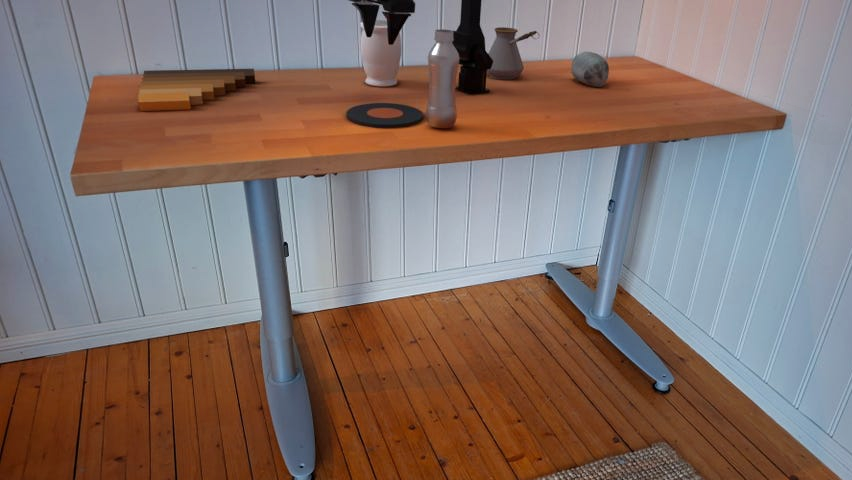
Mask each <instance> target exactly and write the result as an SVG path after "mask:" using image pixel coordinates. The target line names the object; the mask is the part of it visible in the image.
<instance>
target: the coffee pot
mask: <svg viewBox="0 0 852 480" xmlns="http://www.w3.org/2000/svg"><path fill="white" fill-rule="evenodd" d="M494 32H495V35H496V37H495V39H494V41H493V43H492V45H491V47H490V50H489V51H488V52H487V53H488V54H489V56H490V57H491V58H492V60H493V64H492V67H491V69H488V70H487V75H488V76H489V77H490V78H492V79H496V80H515V79H517V77H518V76H520V75H521V73H522V72H523V70H524V63H523V60H522V57H521V54H520V51H519V47H518V44H517V43H518V42H520V41H524V40H527V39H529V38H530V37H531V38H532V39H534V40H538V39H539V38H540V33H539V32H538V31H536V30H533V31H529V32H528V33H525V34H523V35H521V36H519V37H517V38H516V35H517V33H518V32H519V30H518V29H517V28H512V27H505V26H504V27H503V26H501V27H499V26H498V27H495V28H494ZM536 34H537V35H538V37H537V38H535V37H534V35H536Z"/></svg>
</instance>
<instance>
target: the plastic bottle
mask: <svg viewBox="0 0 852 480" xmlns="http://www.w3.org/2000/svg"><path fill="white" fill-rule="evenodd" d="M453 31H454V30H453ZM453 31H452V30H451V29H439V28H438V29H435V31H434V41H435V43H434V44H433V45H432V47H431V48H430V50H429V52H428V53H427V54H428V55H427V64H428V65H427V66H428V73H429V75H428V76H429V77H428V78H429V90H428V91H429V92H428V101H427V106H426V109H425V110H426V111H425V120H426V123H427V125H429V126H430V127H432V128H437V129H438V128H439V129H447V128H452V127H454V125H455V124H456V122H457V119H458V118H457V117H458V116H457V115H458V113H457V106H456V84H457V76H458V70H459V65H460V64H459V54H458V52H457V50H456V48H455V47H454V45H453V44H452V41H454V38H453Z"/></svg>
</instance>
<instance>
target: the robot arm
mask: <svg viewBox="0 0 852 480" xmlns="http://www.w3.org/2000/svg"><path fill="white" fill-rule="evenodd" d="M348 1H349V2H351V5H352V6H353V7H354V8H355V9H356V10H357V11H358V12H359V15H360V18H361V22H363V25H364V29H365V33H366V37H371V36H372V33H373V30H374V26H375V22H376V20H377V18H378V14H379V11H380V7H381V6H382V9H383V11H381V13H382V15H383V16H384V18H385V19H386V21H387V35H388V44H389V45H393V44H394V42H395V40H396V38H397V36H398V34H399V33H400V32H401V30H402V29H403V27H404V25H405V23H407V20H408V19H409V17H412V14H415V13H416V2H415V1H414V0H348ZM482 1H483V0H461V1H460V2H461V3H460V18H459V19H460V21H459V24H458V26H457V28H456V30H451V31H453V38H454V41H452V44H453V45H454V47H455V48H456V50H457V52H458V54H459V65H460V68H459V69H460V71H459V73H458V83H457V84H458V86H455V90H458V91H461V92H463V93H466V94H468V95H475V94H482V93H490V89H488V88H487V75H488V73H487V70H488V69H491V67H492V64H493V60H492V58H491V57H490V56H489V54H488V53H489V52H487V50H486V38H485V35H484V32H483V28H482V27H481V16H482Z"/></svg>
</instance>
